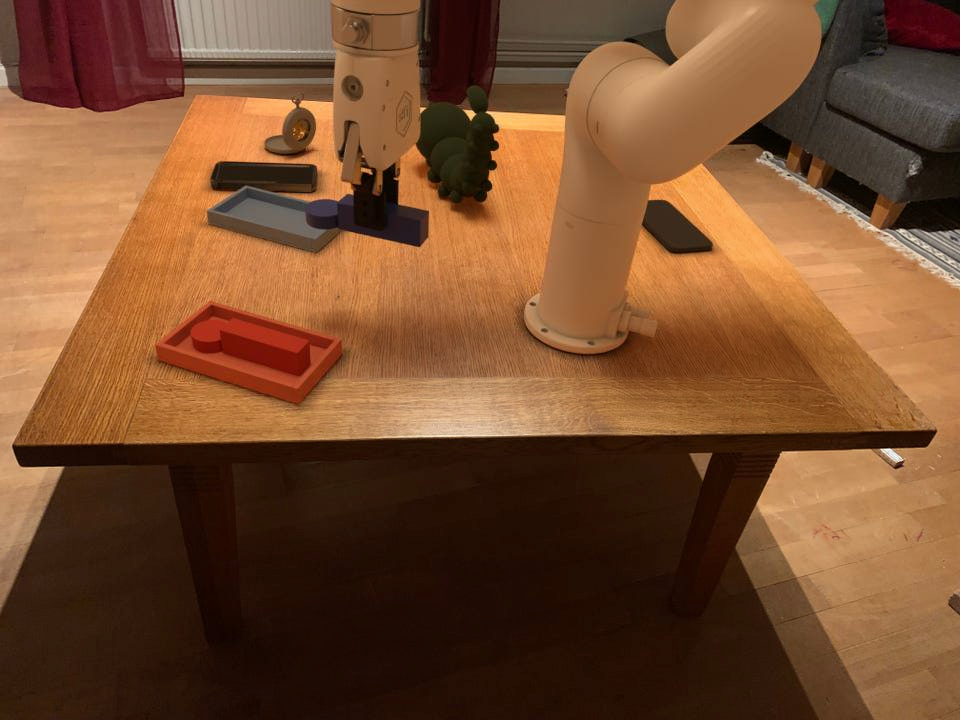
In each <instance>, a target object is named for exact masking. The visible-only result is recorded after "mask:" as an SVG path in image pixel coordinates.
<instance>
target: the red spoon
mask: <svg viewBox="0 0 960 720" xmlns="http://www.w3.org/2000/svg"><path fill="white" fill-rule="evenodd" d="M191 338H192V344H193V347H194V348H195V349H196V350H198V351H200V352H204V353H215V352H220V351H222V352H223V353H225V354H228V355H232V356H235V357H238V358H241V359H245V360H248V361H251V362H255V363H258V364H261V365H264V366H268V367H271V368H274V369H277V370H281V371H284V372H287V373H290V374H294V375H297V376H300V375H301V374H302V373H303V371H304V370H305V369H306V368H307V367H308V366H309V365H310V364H311V359H310V341H309V340H306V339H302V338H299V337H296V336H292V335H289V334H285V333H282V332H279V331H275V330H272V329H268V328H265V327H262V326H258V325H255V324H251V323H248V322H244V321H241V320H238V319H234V318H232V319H231V320H230V321H229V322H228V323H226V322H224V321H220V320H206V321H202V322H200V323H198V324H196V325H195V326H194V327H193V328H192V329H191Z"/></svg>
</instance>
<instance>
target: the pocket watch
mask: <svg viewBox="0 0 960 720" xmlns="http://www.w3.org/2000/svg"><path fill="white" fill-rule="evenodd" d="M299 95H302V97H301V99H300V98H299V97H297V96H299ZM294 99H295V100H294ZM304 99H305V94H304V92H297V93H295V94H294V95H293V96H292V98H291V102H292V103H293V104H294V105H295V107H294V108H293V109H292V110H290V112H288V114H287V115H286V116H285V118H284V121H283V124H282V127H281V128H282V130H281V134H278V135H276V134H275V135H272V136H268V137H267V138H266V139H265V140H264V142H263V144H264V147H265V149H266V150H268V151H269V152H273V153H275V154H280V155H281V154H284V155H288V154H289V155H290V154H297V153H300V152H302V151H304V150H305V149H306V148H308V146H310V144H311V143H312V142H313V140H314V138H315V136H316V131H317V122H316V118H315V116H314V114H313V112H311V111H310V110H309V109H308V108H306V107H302V106H300V104H301V103H302V101H303V100H304Z"/></svg>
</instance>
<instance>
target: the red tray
mask: <svg viewBox="0 0 960 720" xmlns="http://www.w3.org/2000/svg"><path fill="white" fill-rule="evenodd" d="M232 318H234V319H238V320H241V321H244V322H248V323H251V324H255V325H258V326H262V327H265V328H268V329H272V330H275V331H279V332H282V333H285V334H289V335H292V336H296V337H299V338H302V339H306V340H309V341H310V359H311V364H310V365H309V366H308V367H307V368H306V369H305V370H304V371H303V373H302V374H301V375H300V376H297V375H294V374H290V373H287V372H284V371H281V370H277V369H274V368H271V367H268V366H264V365H261V364H258V363H255V362H251V361H248V360H245V359H241V358H238V357H235V356H232V355H228V354H225V353H223V352H222V351H220V352H215V353H204V352H200V351H198V350H196V349H195V348H194V347H193V344H192V338H191V329H192V328H193V327H194V326H195V325H196V324H198V323H200V322H202V321H206V320H220V321H224V322H226V323H228V322H229V321H230V320H231V319H232ZM154 347H155V352H156V358H157V361H159V362H163V363H166V364H168V365H172V366H176V367H179V368H182V369H185V370H188V371H190V372H194V373H198V374H201V375H203V376H207V377H210V378H214V379H217V380H220V381H223V382H226V383H229V384H233V385H236V386H239V387H241V388H245V389H248V390H251V391H255V392H258V393H261V394H265V395H267V396H271V397H273V398H277V399H280V400H284V401H286V402H289V403H293V404H296V405H300V404H301V402H302V401H303V400H304V399H305V398H306V396H307V395H308V394H309V393H310V392H311V391H312V390H313V389H314V387H315V386H316V385H317V384H318V383H319V382H320V381H321V379H322V378H323V377H324V376H325V375H326V373H328V371H329V370H330V369H331V367H332V366H333V365H334V364H335V363H336V362H337V361H338V359H339V358H340V357H341V356H342V355H343V339H342V338H340V337H336V336H333V335H330V334H326V333H322V332H319V331H315V330H311V329H308V328H305V327H302V326H298V325H295V324H291V323H288V322H284V321H281V320H279V319H278V320H277V319H275V318H272V317H268V316H264V315H262V314H261V315H260V314H258V313H253V312H250V311H247V310H243V309H240V308H237V307H234V306H230V305H226V304H223V303H219V302H216V301H213V300H208V302H206V303H205V304H204V305H202V306H201V307H200V308H198V310H196V311H195V312H194V313H192V314H191V315H190V316H189V317H188V318H186V319H185V320H184V321H183V322H181V323H180V324H179V325H178V326H176V327H175V328H174V329H173V330H171V331H170V332H169V333H168V334H166V335H165V336H164V337H163V338H161V339H160V340H159V341H157V342H156V343H155V344H154Z"/></svg>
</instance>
